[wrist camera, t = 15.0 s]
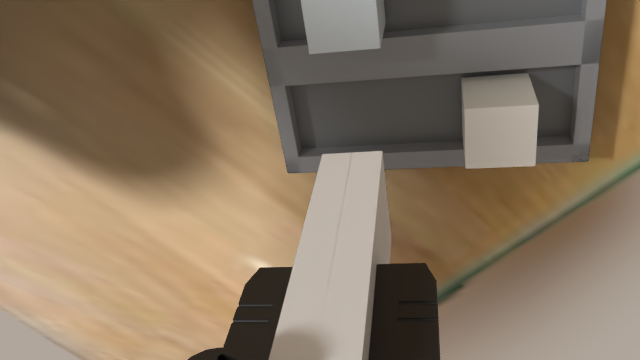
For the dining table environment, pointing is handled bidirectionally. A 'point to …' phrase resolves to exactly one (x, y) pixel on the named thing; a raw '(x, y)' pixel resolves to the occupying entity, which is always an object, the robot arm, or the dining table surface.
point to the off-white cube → (499, 121)
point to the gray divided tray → (431, 78)
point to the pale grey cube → (343, 24)
